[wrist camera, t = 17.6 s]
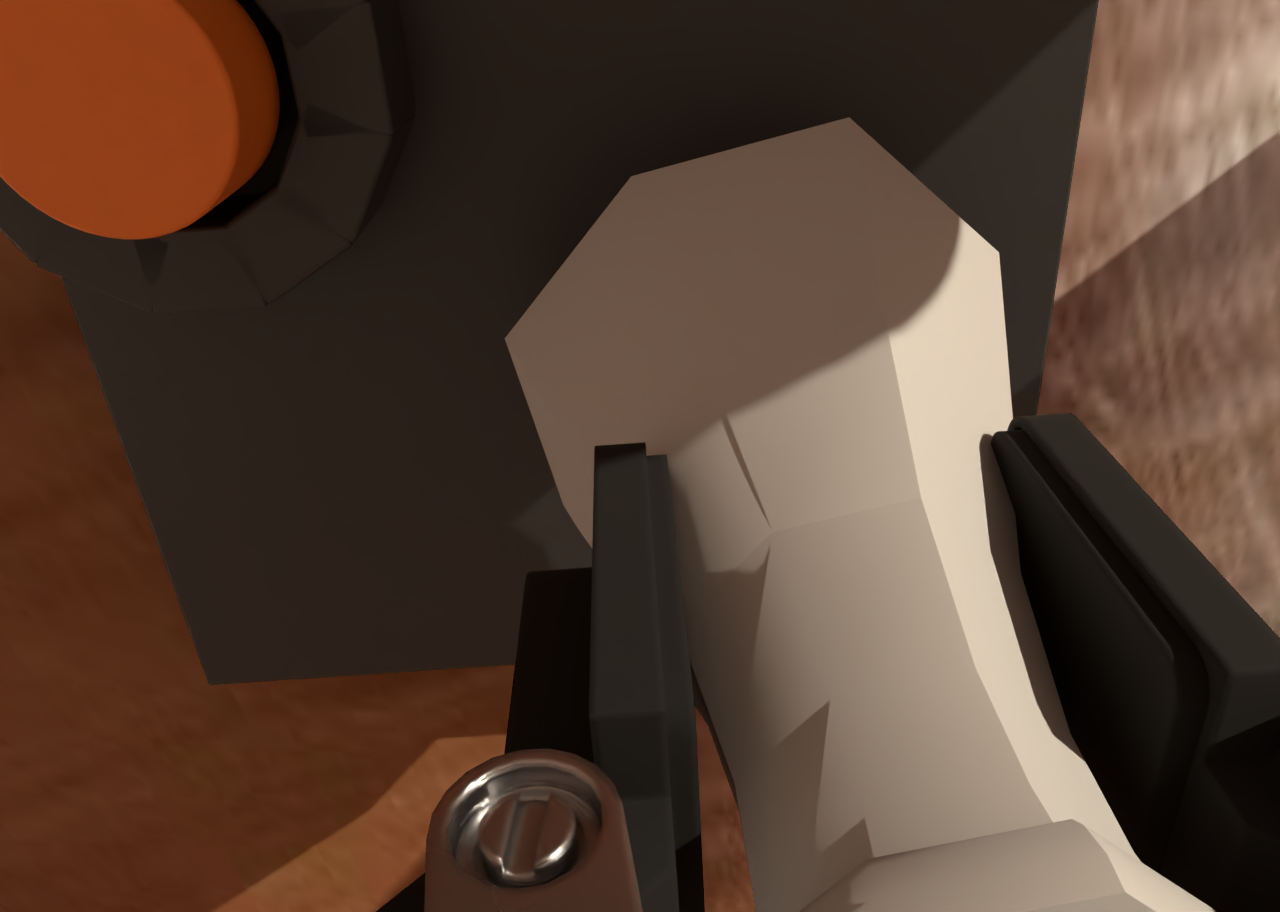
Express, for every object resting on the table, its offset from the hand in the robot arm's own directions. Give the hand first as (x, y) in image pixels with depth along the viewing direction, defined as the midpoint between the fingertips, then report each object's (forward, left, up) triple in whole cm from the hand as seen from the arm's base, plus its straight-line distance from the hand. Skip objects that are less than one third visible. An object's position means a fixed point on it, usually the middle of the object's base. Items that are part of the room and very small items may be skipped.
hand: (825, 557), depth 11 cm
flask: (0, 0, -5) cm, 5 cm away
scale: (-3, 0, -8) cm, 8 cm away
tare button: (-8, +5, -5) cm, 11 cm away
